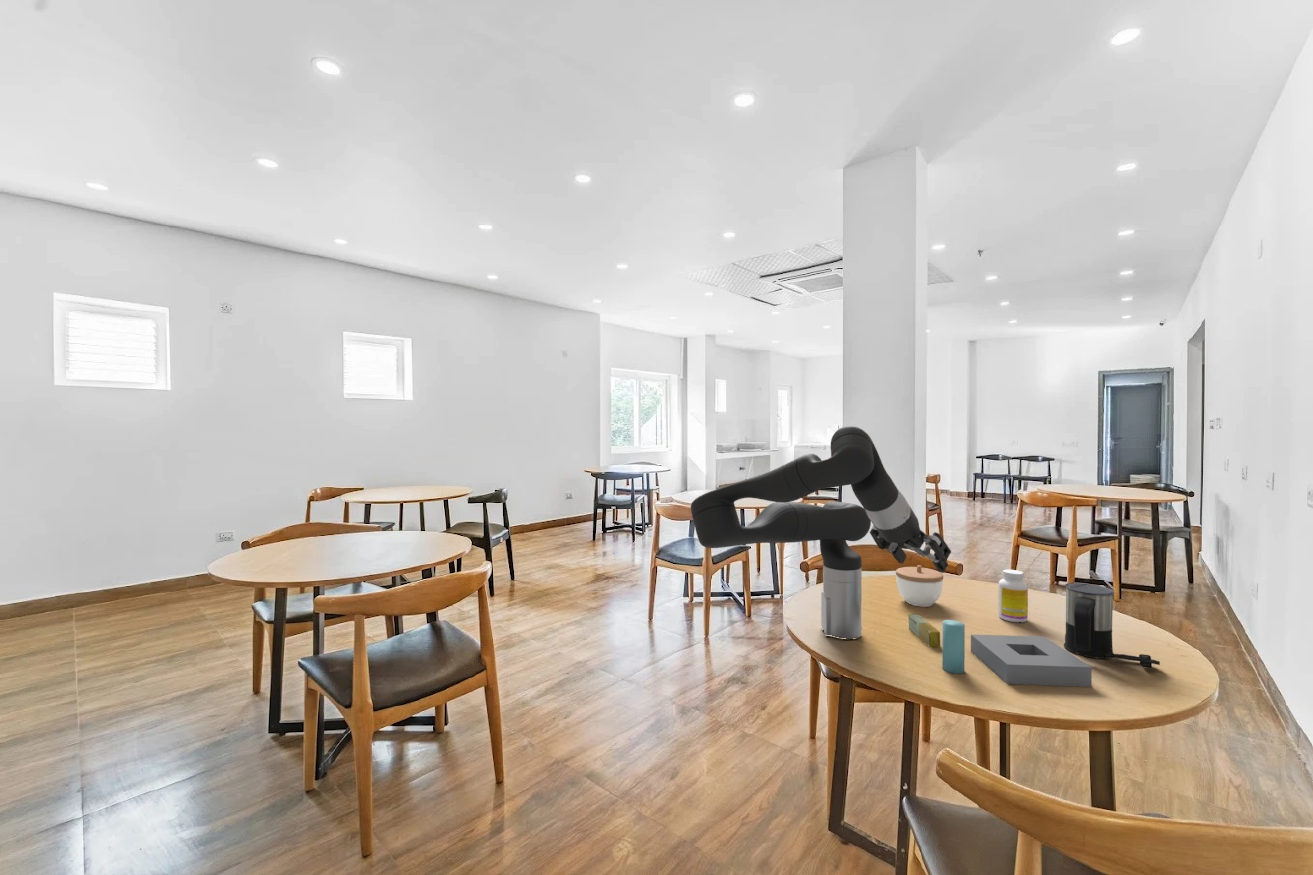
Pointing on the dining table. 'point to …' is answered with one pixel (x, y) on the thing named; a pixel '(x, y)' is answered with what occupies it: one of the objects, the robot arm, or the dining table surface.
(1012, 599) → the supplement bottle
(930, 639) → the medication box
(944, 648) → the peg
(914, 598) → the lidded bowl
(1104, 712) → the dining table surface
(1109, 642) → the milk frother
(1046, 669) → the socket block
